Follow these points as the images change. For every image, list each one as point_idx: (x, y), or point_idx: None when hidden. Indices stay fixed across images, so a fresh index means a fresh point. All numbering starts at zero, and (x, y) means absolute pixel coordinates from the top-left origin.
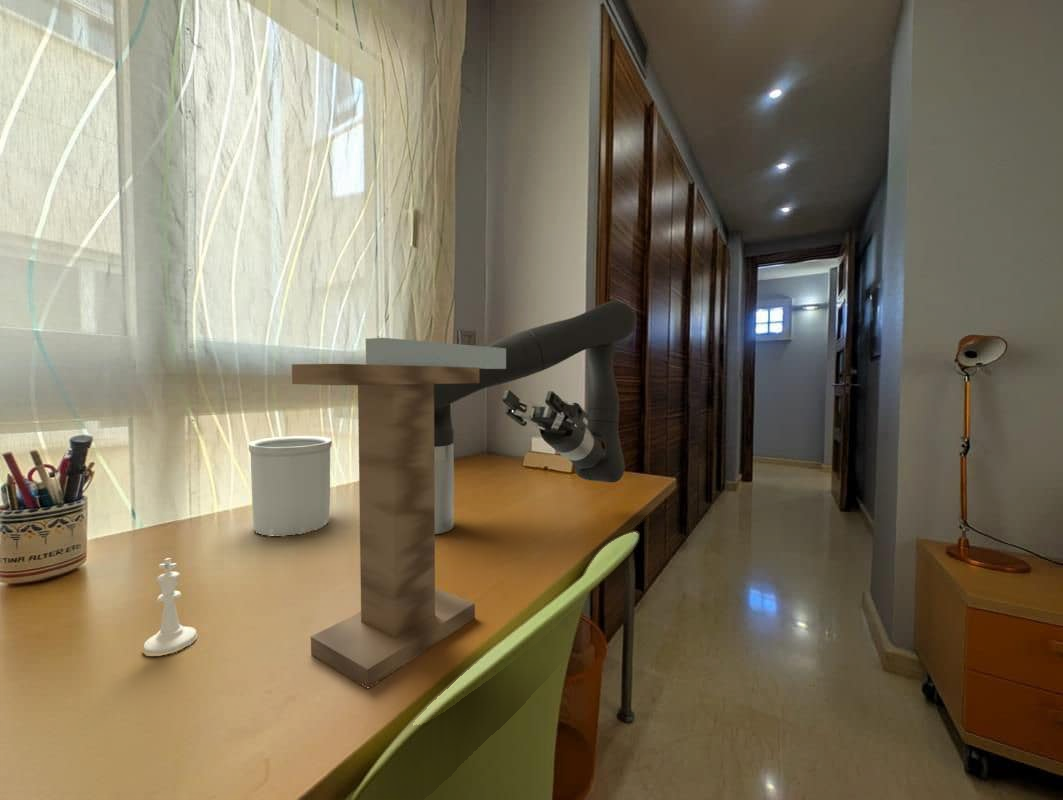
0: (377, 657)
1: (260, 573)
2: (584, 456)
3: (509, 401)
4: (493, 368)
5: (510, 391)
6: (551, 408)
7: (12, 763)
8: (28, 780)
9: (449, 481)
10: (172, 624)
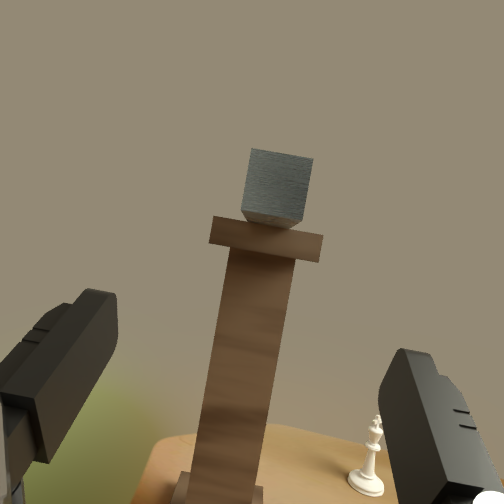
0: (184, 481)
1: None
2: None
3: (388, 417)
4: (251, 215)
5: (405, 358)
6: (78, 404)
7: (293, 427)
8: (275, 425)
9: None
10: (363, 466)
